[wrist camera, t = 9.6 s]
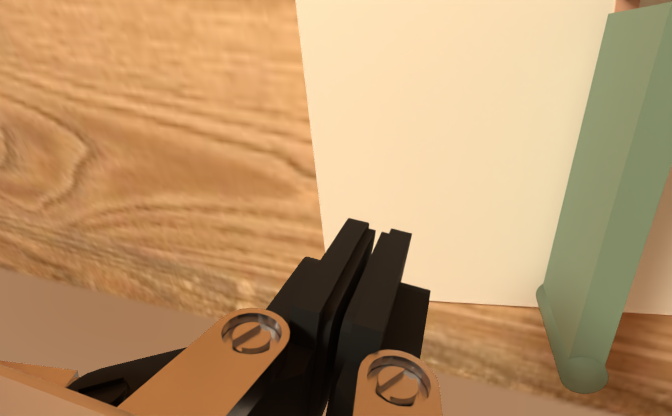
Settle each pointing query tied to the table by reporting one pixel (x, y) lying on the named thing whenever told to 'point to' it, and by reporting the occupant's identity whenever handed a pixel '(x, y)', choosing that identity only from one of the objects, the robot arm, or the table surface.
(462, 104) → the card
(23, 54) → the table surface
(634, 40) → the fence panel
